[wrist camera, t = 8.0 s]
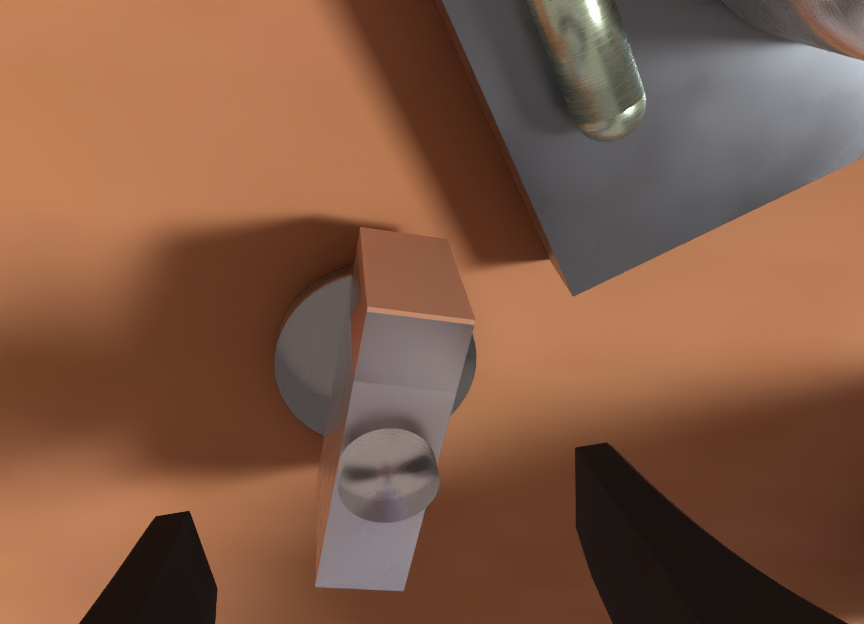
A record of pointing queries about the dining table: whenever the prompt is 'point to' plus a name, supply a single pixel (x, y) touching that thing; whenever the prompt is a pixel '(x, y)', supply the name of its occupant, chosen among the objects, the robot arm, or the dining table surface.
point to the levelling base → (659, 113)
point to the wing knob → (377, 397)
